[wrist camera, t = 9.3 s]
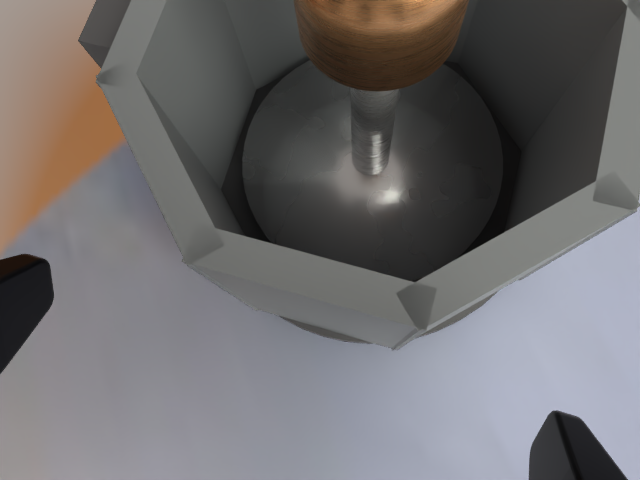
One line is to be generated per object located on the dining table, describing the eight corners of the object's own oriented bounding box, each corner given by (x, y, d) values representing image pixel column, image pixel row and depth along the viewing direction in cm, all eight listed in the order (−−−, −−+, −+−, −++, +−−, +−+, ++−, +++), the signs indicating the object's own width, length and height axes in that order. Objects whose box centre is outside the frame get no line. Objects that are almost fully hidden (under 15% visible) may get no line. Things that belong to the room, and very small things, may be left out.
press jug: (498, 388, 17) (619, 398, 9) (128, 279, 18) (-38, 209, 11) (562, 74, 19) (700, -129, 12) (233, 5, 21) (160, -211, 13)
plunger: (467, 321, 16) (653, 227, 6) (212, 250, 17) (6, 71, 7) (520, 83, 18) (731, -293, 8) (287, 33, 19) (210, -350, 9)
